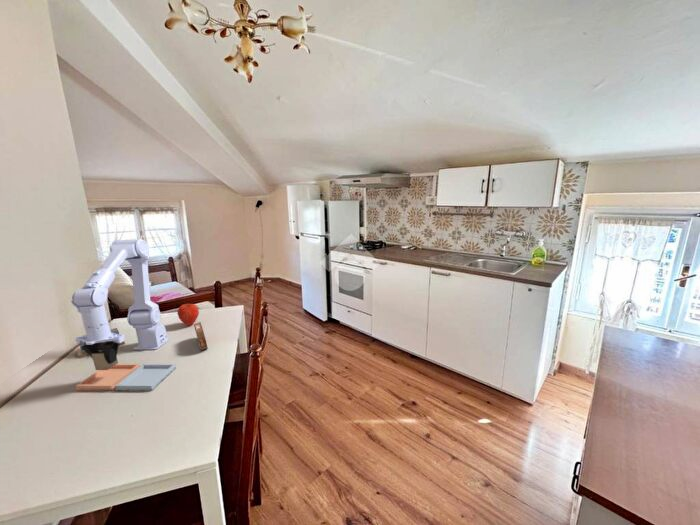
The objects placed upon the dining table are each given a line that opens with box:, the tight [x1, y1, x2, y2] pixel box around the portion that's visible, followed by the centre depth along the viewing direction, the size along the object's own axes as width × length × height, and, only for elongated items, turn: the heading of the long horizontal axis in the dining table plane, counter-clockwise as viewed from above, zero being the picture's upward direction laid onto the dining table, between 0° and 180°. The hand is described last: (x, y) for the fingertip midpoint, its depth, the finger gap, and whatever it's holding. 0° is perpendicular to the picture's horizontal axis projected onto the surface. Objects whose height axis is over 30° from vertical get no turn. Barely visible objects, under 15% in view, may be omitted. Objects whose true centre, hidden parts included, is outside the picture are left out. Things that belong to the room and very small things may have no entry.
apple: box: [177, 303, 200, 327], centre depth 130 cm, size 9×8×11 cm
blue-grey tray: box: [115, 363, 177, 392], centre depth 92 cm, size 12×12×2 cm
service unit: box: [76, 327, 126, 359], centre depth 112 cm, size 7×14×6 cm, turn 137°
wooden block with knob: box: [91, 348, 119, 371], centre depth 91 cm, size 4×4×7 cm
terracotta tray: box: [75, 363, 141, 392], centre depth 92 cm, size 12×12×2 cm
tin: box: [193, 321, 208, 351], centre depth 112 cm, size 15×3×8 cm, turn 33°
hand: (106, 361), depth 91 cm, fingers closed on wooden block with knob, 4 cm apart
